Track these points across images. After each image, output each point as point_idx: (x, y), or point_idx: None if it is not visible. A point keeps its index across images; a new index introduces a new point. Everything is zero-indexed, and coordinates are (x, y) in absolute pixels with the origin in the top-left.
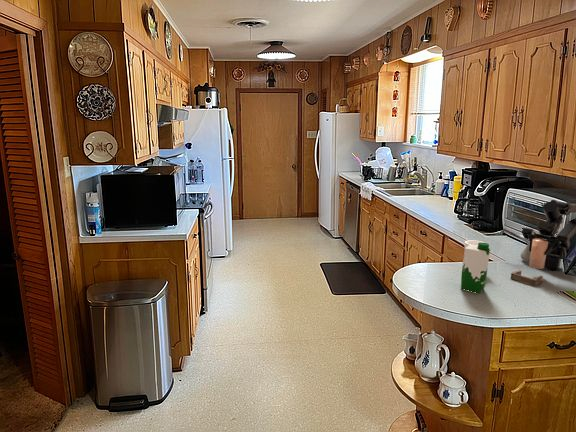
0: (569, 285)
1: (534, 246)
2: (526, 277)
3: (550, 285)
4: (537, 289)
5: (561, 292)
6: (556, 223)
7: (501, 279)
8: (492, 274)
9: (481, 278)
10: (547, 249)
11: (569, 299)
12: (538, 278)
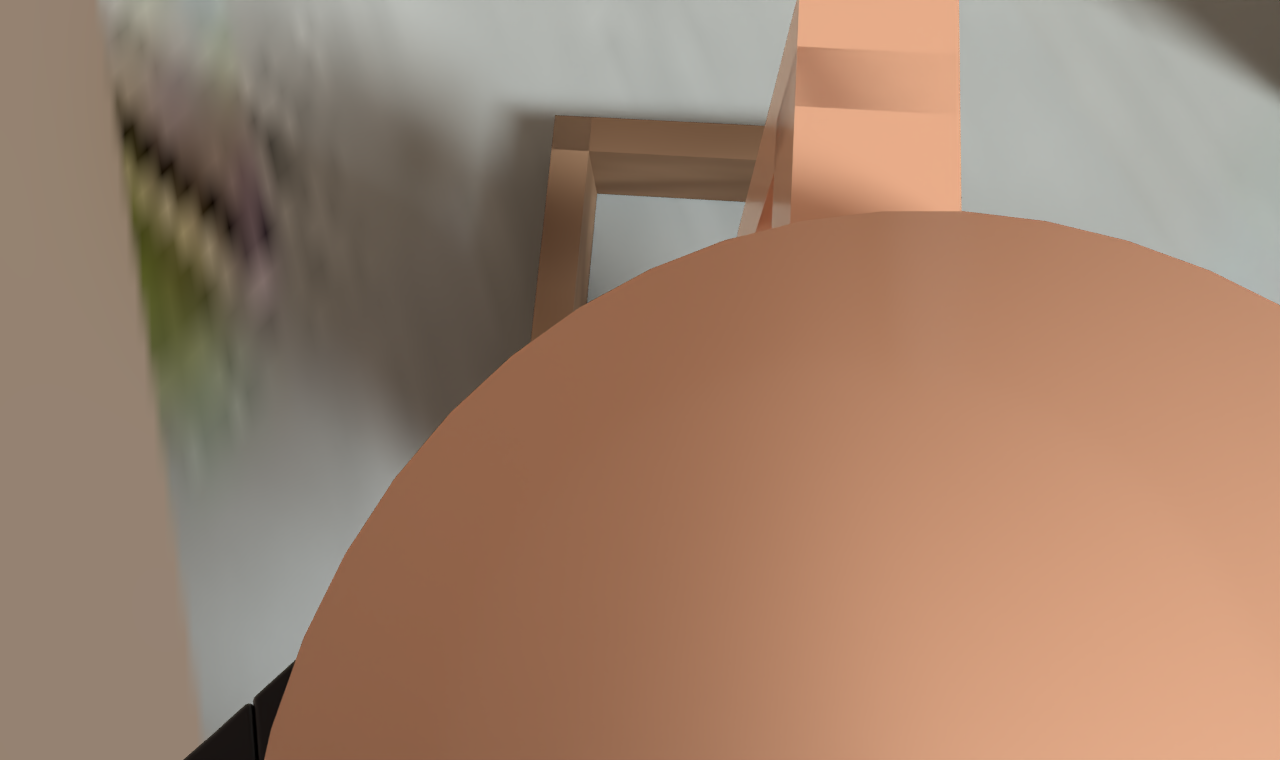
0: (208, 586)
1: (857, 9)
2: (690, 133)
3: (414, 355)
4: (494, 72)
5: (243, 206)
6: None
7: (959, 52)
8: (1146, 139)
9: None
10: None
11: (127, 54)
12: (546, 234)
